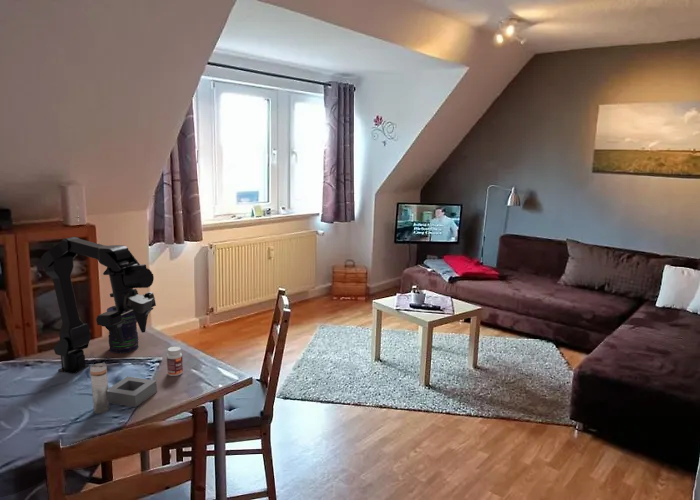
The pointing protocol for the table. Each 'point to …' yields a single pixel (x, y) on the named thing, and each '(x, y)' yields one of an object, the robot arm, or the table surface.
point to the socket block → (131, 391)
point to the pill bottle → (174, 361)
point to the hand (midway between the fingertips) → (132, 337)
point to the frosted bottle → (99, 388)
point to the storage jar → (125, 334)
